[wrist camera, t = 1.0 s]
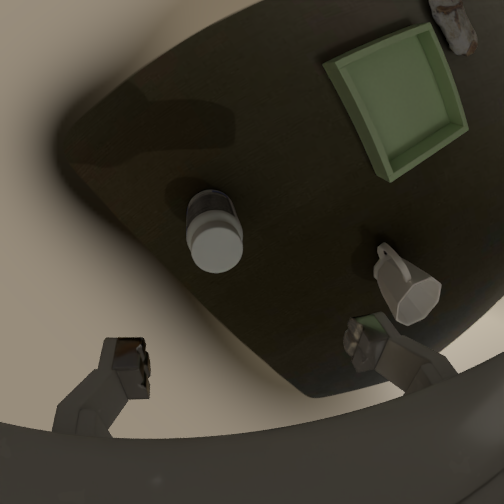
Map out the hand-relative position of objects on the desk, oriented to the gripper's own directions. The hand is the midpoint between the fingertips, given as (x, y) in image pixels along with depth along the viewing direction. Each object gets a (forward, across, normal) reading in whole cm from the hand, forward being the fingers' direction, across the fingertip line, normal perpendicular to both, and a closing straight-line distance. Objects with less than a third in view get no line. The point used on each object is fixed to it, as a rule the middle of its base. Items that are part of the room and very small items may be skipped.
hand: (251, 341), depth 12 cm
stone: (+21, -27, -23) cm, 41 cm away
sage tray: (+21, -20, -10) cm, 31 cm away
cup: (+21, -22, +10) cm, 32 cm away
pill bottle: (+21, 0, +3) cm, 21 cm away
